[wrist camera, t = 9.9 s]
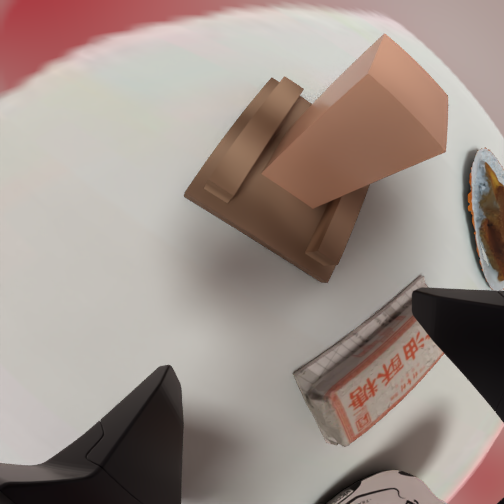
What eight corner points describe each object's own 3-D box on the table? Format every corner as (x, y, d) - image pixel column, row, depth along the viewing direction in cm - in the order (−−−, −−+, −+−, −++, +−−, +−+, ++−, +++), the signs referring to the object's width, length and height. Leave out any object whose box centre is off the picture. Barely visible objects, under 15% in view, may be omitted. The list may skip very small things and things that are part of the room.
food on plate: (511, 208, 41) (533, 204, 35) (499, 313, 35) (526, 314, 29) (460, 124, 35) (486, 113, 29) (448, 240, 30) (488, 234, 24)
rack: (321, 282, 23) (342, 283, 20) (183, 196, 20) (186, 183, 17) (371, 160, 26) (390, 150, 23) (267, 83, 23) (279, 64, 20)
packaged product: (350, 465, 18) (315, 391, 17) (323, 442, 22) (287, 371, 22) (463, 350, 23) (449, 273, 23) (433, 345, 28) (416, 274, 27)
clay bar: (312, 208, 22) (445, 152, 10) (261, 173, 21) (367, 73, 9) (333, 163, 23) (447, 95, 11) (287, 130, 22) (384, 33, 10)
